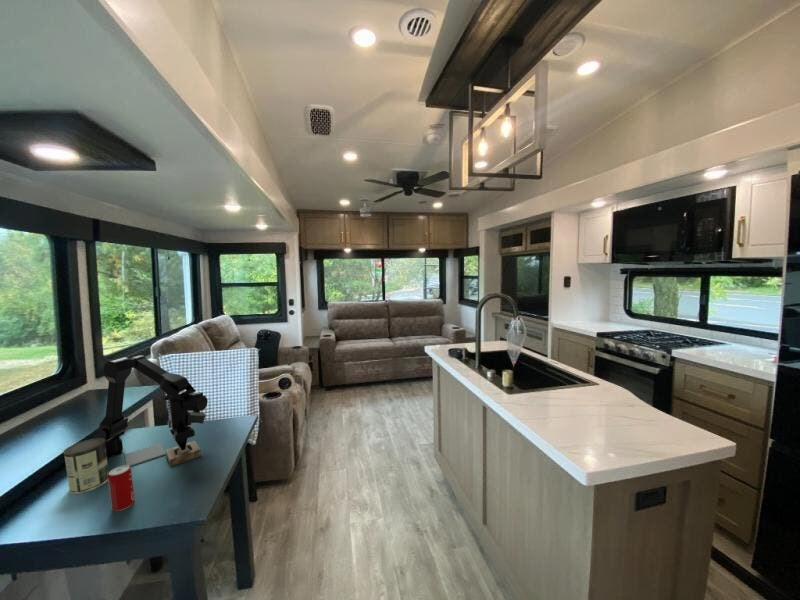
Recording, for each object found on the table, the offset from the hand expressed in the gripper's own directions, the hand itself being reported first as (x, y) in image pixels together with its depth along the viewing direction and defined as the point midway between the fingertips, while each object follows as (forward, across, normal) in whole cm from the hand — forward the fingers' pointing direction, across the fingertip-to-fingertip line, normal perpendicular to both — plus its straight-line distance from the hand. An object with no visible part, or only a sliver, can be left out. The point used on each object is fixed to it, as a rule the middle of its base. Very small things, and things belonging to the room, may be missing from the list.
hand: (182, 448), depth 129 cm
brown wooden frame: (+3, 0, 0) cm, 3 cm away
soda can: (+3, -20, +19) cm, 28 cm away
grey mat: (+3, +12, +11) cm, 17 cm away
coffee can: (+3, +3, +27) cm, 27 cm away
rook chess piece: (+3, 0, 0) cm, 3 cm away
